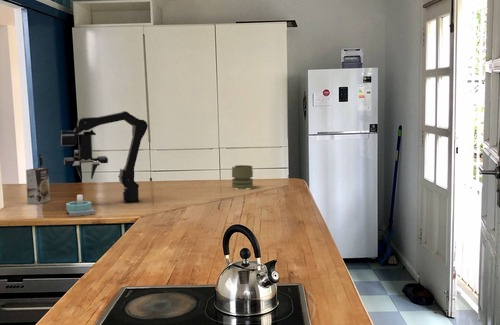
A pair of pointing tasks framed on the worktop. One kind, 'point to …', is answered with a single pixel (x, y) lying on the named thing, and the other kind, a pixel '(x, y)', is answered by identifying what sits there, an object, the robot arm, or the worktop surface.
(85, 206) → the teal ring
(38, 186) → the coffee box
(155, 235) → the worktop surface
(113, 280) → the worktop surface
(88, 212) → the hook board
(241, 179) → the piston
